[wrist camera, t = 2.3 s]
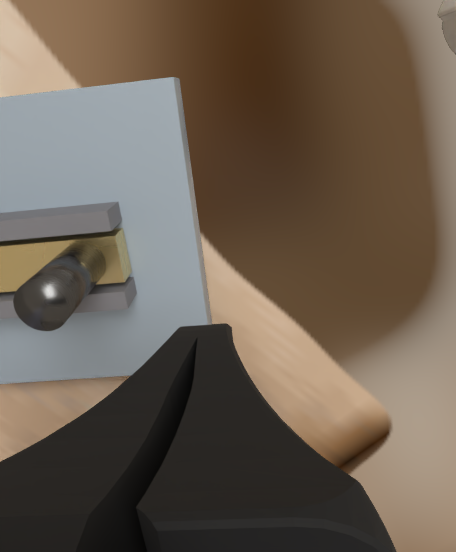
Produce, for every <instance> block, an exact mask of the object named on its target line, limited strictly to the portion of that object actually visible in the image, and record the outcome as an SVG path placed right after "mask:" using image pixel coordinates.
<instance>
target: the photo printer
mask: <svg viewBox="0 0 456 552" xmlns="http://www.w3.org/2000/svg"><path fill="white" fill-rule="evenodd" d="M438 16H439V17H440V18H441V19H442V20H443V22H442V30H443V33H444V36H445V39H446V41H447V43H448V45H449V47H450V48H451V50H452V51H453V52H454V53H455V54H456V0H443V3H442V5H441V7H440V9H439V11H438Z"/></svg>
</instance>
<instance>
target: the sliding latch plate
mask: <svg viewBox="0 0 456 552" xmlns="http://www.w3.org/2000/svg"><path fill="white" fill-rule="evenodd" d="M114 228H123V230H124V235H125V240H126V245H127V250H128V255H129V260H130V264H131V269H132V272H131V273H130V275H129V277H128V278H127V280H126V281H125V282H121V283H109V284H97V285H95V286H94V287H93V289H92V290H91V291H90V292H89V294H88V295H87V296H86V297H85V299H84V300H83V301H82V302H81V304H80V305H79V306H78V307H77V309H76V310H75V311H74V312H73V314H72V315H71V316H70V317H69V318H68V320H67V321H66V322H65V323H64V325H63V326H61V327H60V328H58V329H56V330H53V331H40V330H36V329H33V328H31V327H29V326H28V325H26V324H25V323H24V322H23V321H22V320H21V319H20V318H19V317H18V315H17V314H16V312H15V309H14V305H13V299H14V295H15V292H16V291H11V292H0V384H8V383H23V382H39V381H54V380H69V379H85V378H100V377H115V376H130V375H132V374H134V373H135V372H136V371H137V370H138V369H139V368H140V367H141V366H142V365H143V364H144V363H145V362H146V361H147V360H148V359H149V358H150V357H151V356H152V355H153V354H154V353H155V352H156V351H157V350H158V349H159V348H160V347H161V346H162V345H163V344H164V343H165V342H166V341H167V340H168V339H169V338H170V336H171V335H172V334H173V333H174V332H175V331H176V330H177V329H178V328H179V327H182V326H197V325H212V319H211V312H210V304H209V297H208V289H207V282H206V275H205V267H204V260H203V252H202V245H201V237H200V230H199V222H198V215H197V208H196V201H195V193H194V185H193V178H192V170H191V163H190V157H189V148H188V141H187V133H186V126H185V118H184V112H183V104H182V97H181V89H180V81H179V79H178V78H175V77H170V78H162V79H153V80H145V81H136V82H128V83H120V84H111V85H102V86H94V87H85V88H77V89H68V90H60V91H51V92H43V93H35V94H26V95H18V96H9V97H1V98H0V241H8V240H19V239H30V238H41V237H52V236H63V235H74V234H85V233H96V232H107V231H112V230H113V229H114Z"/></svg>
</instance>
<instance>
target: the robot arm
mask: <svg viewBox="0 0 456 552" xmlns="http://www.w3.org/2000/svg"><path fill="white" fill-rule="evenodd" d="M0 552H396V550H395V547H394V545H393V543H392V540H391V538H390V536H389V534H388V532H387V530H386V528H385V526H384V524H383V522H382V520H381V518H380V517H379V514H378V512H377V511H376V509H375V507H374V505H373V504H372V502H371V500H370V499H369V497H368V495H367V494H366V492H365V490H364V488H363V487H362V485H361V484H360V483H359V482H358V481H357V480H356V479H354V478H353V477H351V476H350V475H348V474H347V473H345V472H344V471H342V470H341V469H339V468H338V467H336V466H335V465H333V464H332V463H330V462H329V461H328V460H326V459H325V458H323V457H322V456H321V455H320V454H318V453H317V452H316V451H315V450H314V449H312V448H311V447H310V446H309V445H308V444H306V443H305V442H304V441H303V440H302V439H301V438H300V437H299V436H298V435H297V434H296V433H295V432H294V431H293V430H292V429H291V428H290V427H289V426H288V425H287V424H286V423H285V422H284V421H283V420H282V419H281V418H280V417H279V416H278V415H277V413H276V412H275V411H274V410H273V409H272V408H271V406H270V405H269V404H268V403H267V401H266V400H265V399H264V398H263V396H262V395H261V393H260V392H259V391H258V389H257V388H256V386H255V385H254V383H253V381H252V380H251V378H250V377H249V375H248V373H247V371H246V370H245V368H244V366H243V364H242V362H241V360H240V358H239V356H238V354H237V351H236V349H235V346H234V343H233V337H232V328H231V327H230V326H229V325H228V324H212V325H197V326H182V327H179V328H178V329H177V330H176V331H175V332H174V333H173V334H172V335H171V336H170V338H169V339H168V340H167V341H166V342H165V343H164V344H163V345H162V346H161V347H160V348H159V349H158V350H157V351H156V352H155V353H154V354H153V355H152V356H151V357H150V358H149V359H148V360H147V361H146V362H145V363H144V364H143V365H142V366H141V367H140V368H139V369H138V370H137V371H136V372H135V373H134V374H132V375H131V376H130V377H129V378H128V379H127V380H126V381H125V382H124V383H122V384H121V385H120V386H119V387H118V388H117V389H116V390H114V391H113V392H112V393H111V394H109V395H108V396H107V397H106V398H104V399H103V400H102V401H100V402H99V403H98V404H96V405H95V406H94V407H92V408H91V409H89V410H88V411H87V412H85V413H84V414H82V415H81V416H79V417H78V418H76V419H75V420H73V421H72V422H70V423H68V424H67V425H65V426H64V427H62V428H60V429H59V430H57V431H56V432H54V433H52V434H51V435H49V436H48V437H46V438H44V439H43V440H41V441H39V442H37V443H35V444H34V445H32V446H30V447H28V448H26V449H24V450H23V451H21V452H19V453H17V454H15V455H13V456H11V457H9V458H7V459H5V460H3V461H1V462H0Z"/></svg>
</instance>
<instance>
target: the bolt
mask: <svg viewBox="0 0 456 552" xmlns="http://www.w3.org/2000/svg"><path fill="white" fill-rule="evenodd" d="M131 272H132V269H131V264H130V260H129V255H128V250H127V245H126V240H125V235H124V230H123V228H114V229H113V230H112V231H107V232H96V233H85V234H74V235H63V236H52V237H41V238H30V239H19V240H8V241H0V292H11V291H16V292H15V295H14V299H13V305H14V309H15V312H16V314H17V315H18V317H19V318H20V319H21V320H22V321H23V322H24V323H25V324H26V325H28V326H29V327H31V328H33V329H36V330H40V331H53V330H56V329H58V328H60V327H61V326H63V325H64V323H65V322H66V321H67V320H68V318H69V317H70V316H71V315H72V314H73V312H74V311H75V310H76V309H77V307H78V306H79V305H80V304H81V302H82V301H83V300H84V299H85V297H86V296H87V295H88V294H89V292H90V291H91V290H92V289H93V287H94V286H95V285H97V284H109V283H121V282H125V281H126V280H127V278H128V277H129V275H130V273H131Z"/></svg>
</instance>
